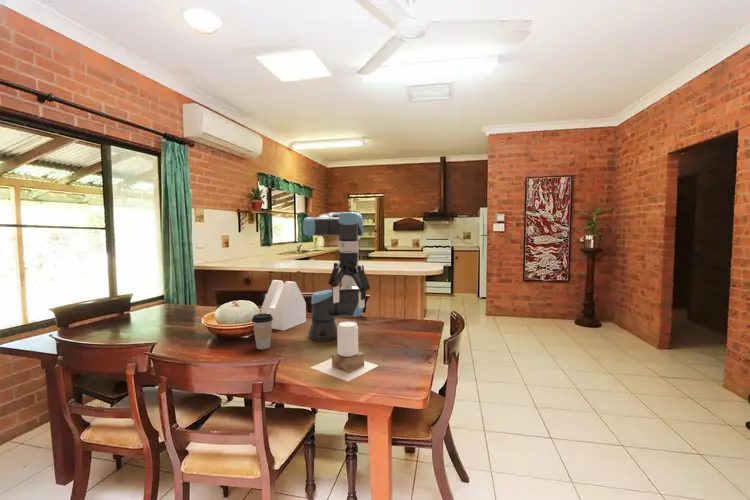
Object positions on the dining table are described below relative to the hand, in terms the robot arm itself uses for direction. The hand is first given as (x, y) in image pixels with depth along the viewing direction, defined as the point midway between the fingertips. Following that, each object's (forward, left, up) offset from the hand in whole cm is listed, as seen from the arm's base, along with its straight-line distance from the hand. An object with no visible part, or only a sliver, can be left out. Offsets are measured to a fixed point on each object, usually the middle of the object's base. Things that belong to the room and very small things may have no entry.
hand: (348, 305), depth 138 cm
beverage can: (+1, -2, -19) cm, 19 cm away
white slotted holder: (-69, +22, -25) cm, 77 cm away
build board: (+1, -3, -25) cm, 25 cm away
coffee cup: (-46, -8, -25) cm, 53 cm away
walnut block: (+2, -2, -24) cm, 24 cm away
